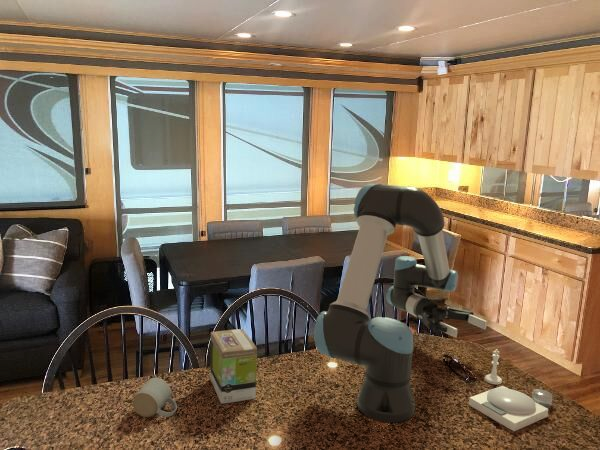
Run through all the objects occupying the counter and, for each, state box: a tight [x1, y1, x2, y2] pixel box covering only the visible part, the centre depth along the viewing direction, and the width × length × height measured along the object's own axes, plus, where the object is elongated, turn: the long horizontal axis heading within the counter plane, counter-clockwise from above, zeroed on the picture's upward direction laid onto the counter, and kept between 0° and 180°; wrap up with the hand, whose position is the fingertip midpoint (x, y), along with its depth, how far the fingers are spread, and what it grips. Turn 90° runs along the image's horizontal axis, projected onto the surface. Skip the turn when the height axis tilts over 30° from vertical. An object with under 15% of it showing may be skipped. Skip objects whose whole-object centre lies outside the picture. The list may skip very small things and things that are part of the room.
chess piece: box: [483, 348, 503, 385], centre depth 150 cm, size 5×5×10 cm
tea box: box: [209, 328, 258, 404], centre depth 139 cm, size 15×10×15 cm
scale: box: [468, 385, 549, 432], centre depth 134 cm, size 14×14×3 cm
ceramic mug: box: [132, 377, 178, 418], centre depth 127 cm, size 10×8×7 cm
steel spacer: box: [531, 388, 553, 409], centre depth 138 cm, size 5×5×3 cm
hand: (471, 329), depth 157 cm, fingers open, 13 cm apart
